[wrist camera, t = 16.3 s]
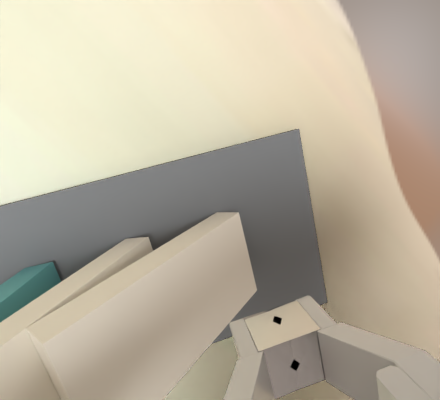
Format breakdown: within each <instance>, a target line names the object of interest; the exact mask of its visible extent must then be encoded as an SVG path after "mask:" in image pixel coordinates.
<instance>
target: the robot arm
mask: <svg viewBox="0 0 440 400" xmlns="http://www.w3.org/2000/svg"><path fill="white" fill-rule="evenodd" d="M229 326H230V330H231V333H232V337H233V341H234V345H235V348H236V352H237V356H238V359H239V360H237V361H236V364H235V367H234V370H233V373H232V376H231V379H230V382H229V384H228V387H227V390H226V393H225V396H224V399H223V400H275V399H278V398H280V397H282V396H284V395H287V394H289V393H291V392H294V391H296V390H298V389H301V388H304V387H306V386H309V385H312V384H315V383H318V382H320V381H323V380H326V382H328V383H329V384H331V385H332V386H334V387H336V388H337V389H339V390H340V391H342V392H343V393H345V394H346V395H348V396H349V397H351V398H353V399H354V400H440V362H439V361H438V360H436V359H435V358H434V357H433V356H431V355H430V354H429V353H428V352H426V351H425V350H422V349H419V348H416V347H413V346H411V345H408V344H405V343H402V342H399V341H396V340H393V339H390V338H387V337H384V336H381V335H378V334H375V333H372V332H369V331H366V330H363V329H360V328H357V327H354V326H351V325H348V324H345V323H342V322H340V323H336V322H335V321H334V320H333V319H332V318H331V317H330V316H329V315H328V314H327V313H326V312H325V311H324V310H323V308H322V307H321V306H320V305H319V304H318V303H317V302H316V301H315V300H314V299H313V298H312V297H311V296H309V295H307V296H305V297H302V298H299V299H297V300H295V301H293V302H290V303H287V304H284V305H281V306H278V307H276V308H273V309H269V310H266V311H263V312H260V313H257V314H254V315H251V316H247V317H244V318H242V319H239V320H236V321H233V322H230V323H229Z"/></svg>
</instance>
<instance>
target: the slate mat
mask: <svg viewBox="0 0 440 400" xmlns="http://www.w3.org/2000/svg"><path fill="white" fill-rule="evenodd" d="M216 212H239V215H240V220H241V224H242V228H243V232H244V237H245V241H246V245H247V249H248V254H249V258H250V262H251V266H252V271H253V275H254V279H255V283H256V288H257V291H256V292H255V293H254V295H253V296H252V297H251V298H250V299H249V300H248V302H247V303H246V304H245V305H244V306H243V307H242V309H241V310H240V311H239V312H238V313H237V314H236V316H235V317H234V318H233V319H232V320H231V321H230V322H233V321H236V320H239V319H242V318H244V317H247V316H251V315H254V314H257V313H260V312H263V311H266V310H269V309H273V308H276V307H278V306H281V305H284V304H287V303H290V302H293V301H295V300H297V299H299V298H302V297H305V296H307V295H309V296H311V297H312V298H313V299H314V300H315V301H316V302H317V303H318V304H319V305H322V304H324V303H327V297H326V291H325V285H324V279H323V273H322V266H321V260H320V254H319V248H318V242H317V236H316V230H315V224H314V217H313V211H312V205H311V199H310V193H309V187H308V181H307V175H306V169H305V162H304V156H303V150H302V144H301V138H300V132H299V129H295V130H292V131H288V132H284V133H280V134H276V135H272V136H268V137H265V138H261V139H257V140H253V141H249V142H245V143H241V144H237V145H234V146H230V147H226V148H222V149H218V150H214V151H210V152H207V153H203V154H199V155H195V156H191V157H187V158H183V159H180V160H176V161H172V162H168V163H164V164H160V165H156V166H153V167H149V168H145V169H141V170H137V171H133V172H129V173H126V174H122V175H118V176H114V177H110V178H106V179H102V180H98V181H95V182H91V183H87V184H83V185H79V186H75V187H71V188H68V189H64V190H60V191H56V192H52V193H48V194H44V195H41V196H37V197H33V198H29V199H25V200H21V201H17V202H14V203H10V204H6V205H2V206H0V285H1V284H3V283H4V282H6V281H7V280H8V279H10V278H11V277H13V276H14V275H15V274H17V273H18V272H20V271H21V270H23V269H24V268H27V267H31V266H36V265H40V264H45V263H49V262H53V263H54V266H55V268H56V270H57V273H58V275H59V277H60V280H61V282H62V281H63V280H65V279H66V278H68V277H69V276H71V275H72V274H74V273H75V272H77V271H78V270H80V269H81V268H83V267H84V266H86V265H87V264H89V263H90V262H92V261H93V260H95V259H96V258H98V257H99V256H101V255H102V254H104V253H105V252H107V251H108V250H110V249H111V248H113V247H114V246H116V245H117V244H119V243H120V242H122V241H123V240H125V239H128V238H140V237H149V240H150V243H151V246H152V249H153V251H154V250H155V249H157V248H159V247H160V246H162V245H164V244H165V243H167V242H169V241H170V240H172V239H174V238H175V237H177V236H179V235H180V234H182V233H183V232H185V231H187V230H188V229H190V228H192V227H193V226H195V225H197V224H198V223H200V222H202V221H203V220H205V219H207V218H208V217H210V216H212V215H213V214H215V213H216ZM229 337H232V333H231V330H230V326H229V324H228V325H227V326H226V327H225V328H224V330H223V331H222V332H221V333H220V334H219V335H218V337H217V338H216V339H215V340H214V341H213V342H212V343H215V342H218V341H220V340H223V339H226V338H229Z"/></svg>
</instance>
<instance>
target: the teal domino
mask: <svg viewBox="0 0 440 400" xmlns="http://www.w3.org/2000/svg"><path fill="white" fill-rule="evenodd" d="M60 282H61V280H60V277H59V275H58V273H57V270H56V268H55V266H54V263H53V262H49V263H45V264H40V265H36V266H31V267H27V268H24V269H23V270H21V271H20V272H18V273H17V274H15V275H14V276H13V277H11V278H10V279H8V280H7V281H6V282H4V283H3V284H1V285H0V322H2V321H3V320H5V319H6V318H8V317H9V316H11V315H12V314H14V313H15V312H17V311H18V310H20V309H21V308H23V307H24V306H26V305H27V304H29V303H30V302H32V301H33V300H35V299H36V298H38V297H39V296H41V295H42V294H44V293H45V292H47V291H48V290H50V289H51V288H53V287H54V286H56V285H57V284H59V283H60Z"/></svg>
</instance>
